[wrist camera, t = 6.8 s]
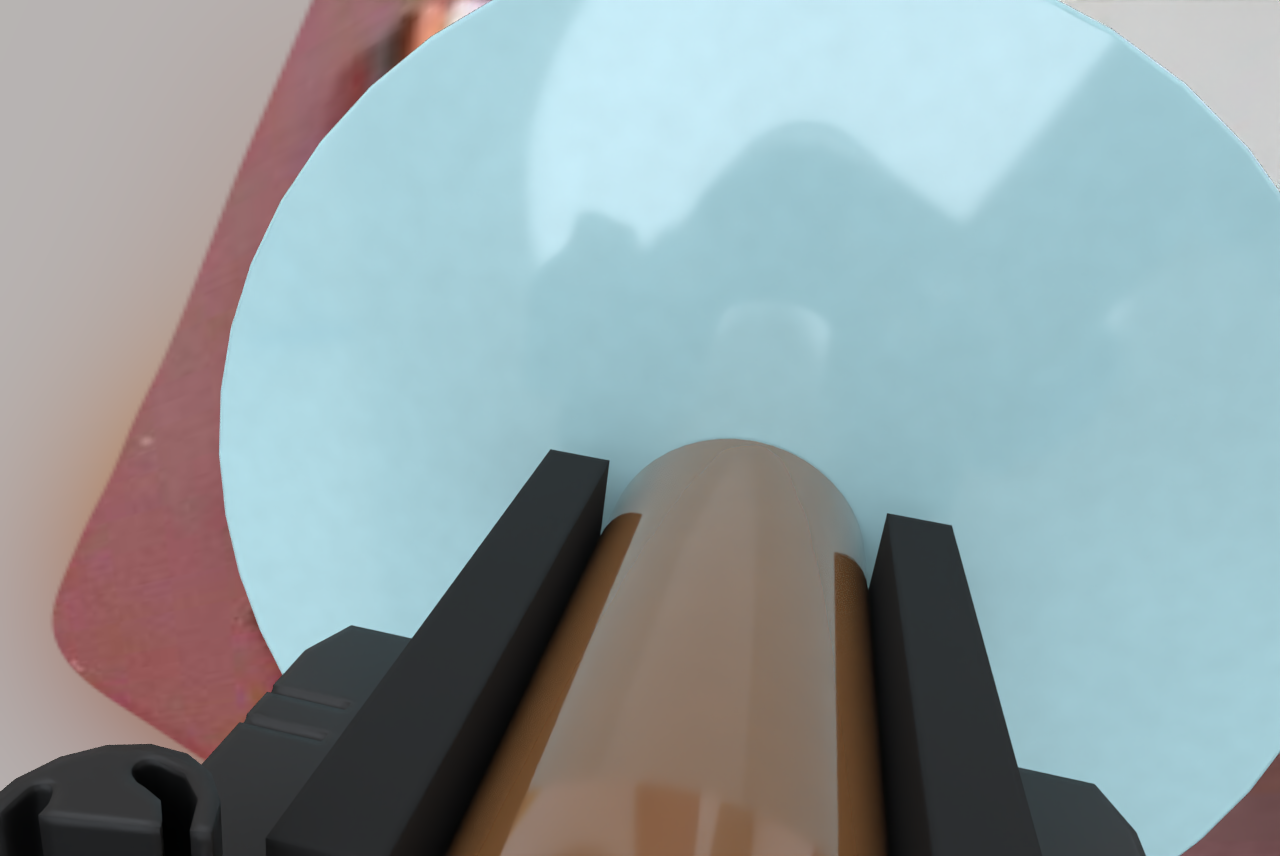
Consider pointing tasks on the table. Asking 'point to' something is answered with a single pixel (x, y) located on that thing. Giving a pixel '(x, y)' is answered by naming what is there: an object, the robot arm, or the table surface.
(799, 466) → the lid
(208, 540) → the table surface
